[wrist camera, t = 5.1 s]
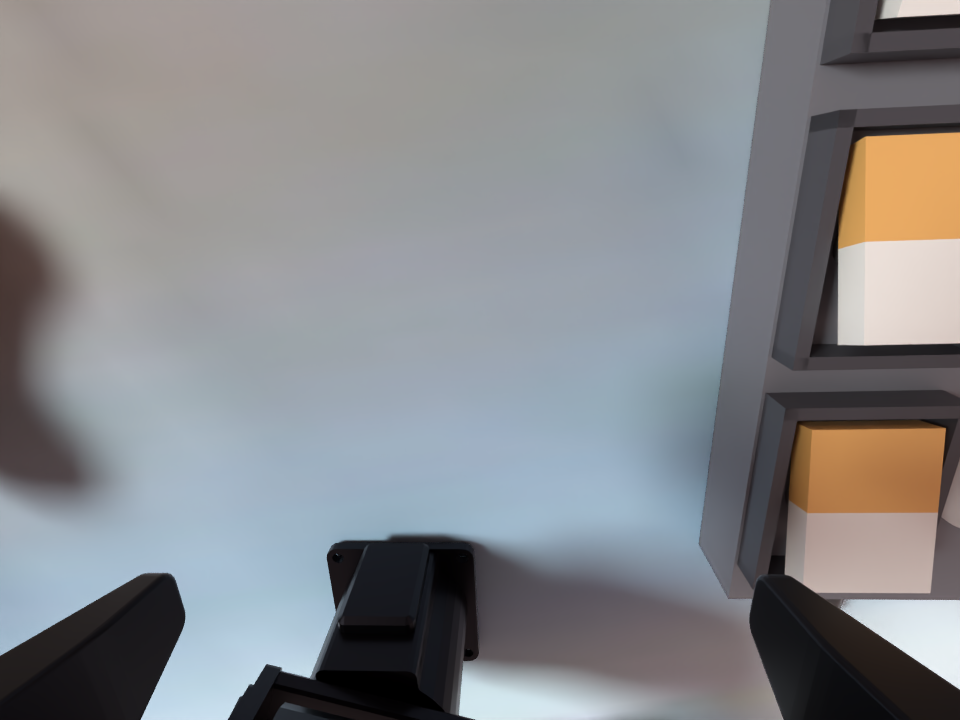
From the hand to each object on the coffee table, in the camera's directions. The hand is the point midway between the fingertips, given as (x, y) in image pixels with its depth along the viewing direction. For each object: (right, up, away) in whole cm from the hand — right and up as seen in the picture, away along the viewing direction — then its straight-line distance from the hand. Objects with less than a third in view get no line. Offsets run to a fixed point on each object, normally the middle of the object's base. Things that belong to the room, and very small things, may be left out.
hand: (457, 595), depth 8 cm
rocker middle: (+12, +7, +6) cm, 15 cm away
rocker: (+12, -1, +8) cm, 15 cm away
